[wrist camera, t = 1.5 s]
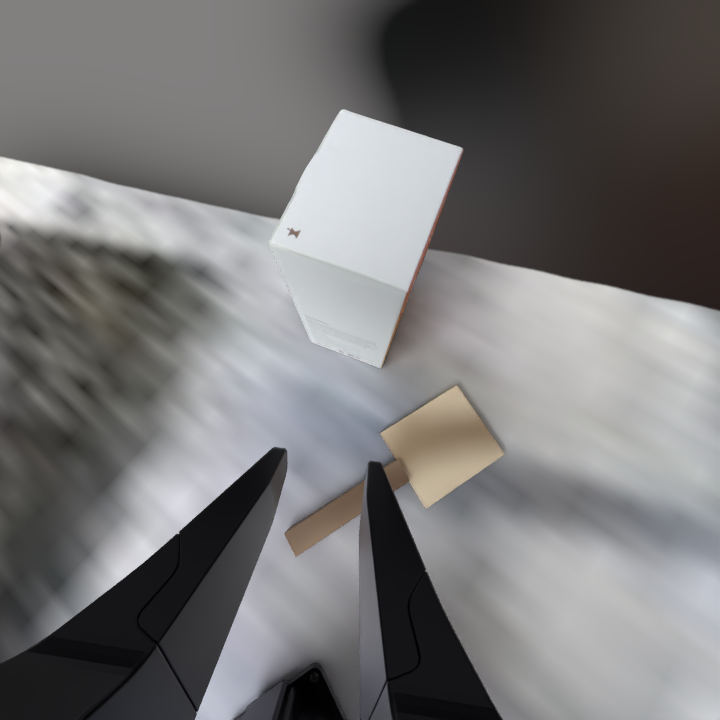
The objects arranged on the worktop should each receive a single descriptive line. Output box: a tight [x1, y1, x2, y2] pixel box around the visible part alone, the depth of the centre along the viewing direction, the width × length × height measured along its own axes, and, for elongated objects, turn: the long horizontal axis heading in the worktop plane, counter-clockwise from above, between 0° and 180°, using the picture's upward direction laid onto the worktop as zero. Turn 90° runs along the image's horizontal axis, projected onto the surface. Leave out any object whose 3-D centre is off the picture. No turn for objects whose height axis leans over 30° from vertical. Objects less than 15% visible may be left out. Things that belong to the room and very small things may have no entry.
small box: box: [269, 110, 463, 368], centre depth 19 cm, size 8×6×13 cm
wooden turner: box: [285, 385, 504, 557], centre depth 22 cm, size 6×16×1 cm, turn 121°
